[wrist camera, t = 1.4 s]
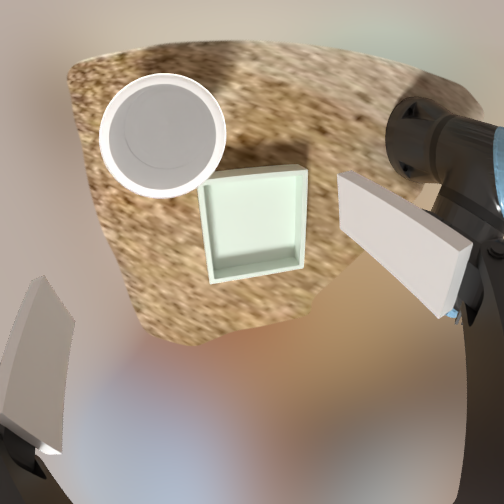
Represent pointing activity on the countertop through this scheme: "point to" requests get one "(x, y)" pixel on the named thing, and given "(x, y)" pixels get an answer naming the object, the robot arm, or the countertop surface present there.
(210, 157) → the jar
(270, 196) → the tray
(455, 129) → the robot arm
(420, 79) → the countertop surface
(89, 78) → the countertop surface
